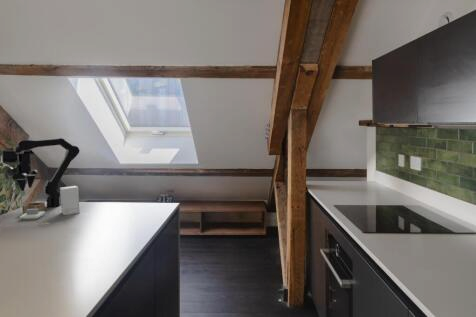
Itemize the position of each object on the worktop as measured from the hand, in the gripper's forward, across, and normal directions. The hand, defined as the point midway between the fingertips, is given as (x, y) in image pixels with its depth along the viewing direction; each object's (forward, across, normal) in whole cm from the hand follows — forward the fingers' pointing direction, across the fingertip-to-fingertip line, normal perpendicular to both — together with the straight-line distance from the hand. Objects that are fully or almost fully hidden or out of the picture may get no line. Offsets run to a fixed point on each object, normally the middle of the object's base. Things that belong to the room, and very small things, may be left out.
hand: (26, 189), depth 182 cm
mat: (+12, +15, +10) cm, 22 cm away
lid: (+11, +19, +10) cm, 24 cm away
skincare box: (+12, +12, +26) cm, 31 cm away
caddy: (+12, +10, +7) cm, 17 cm away
